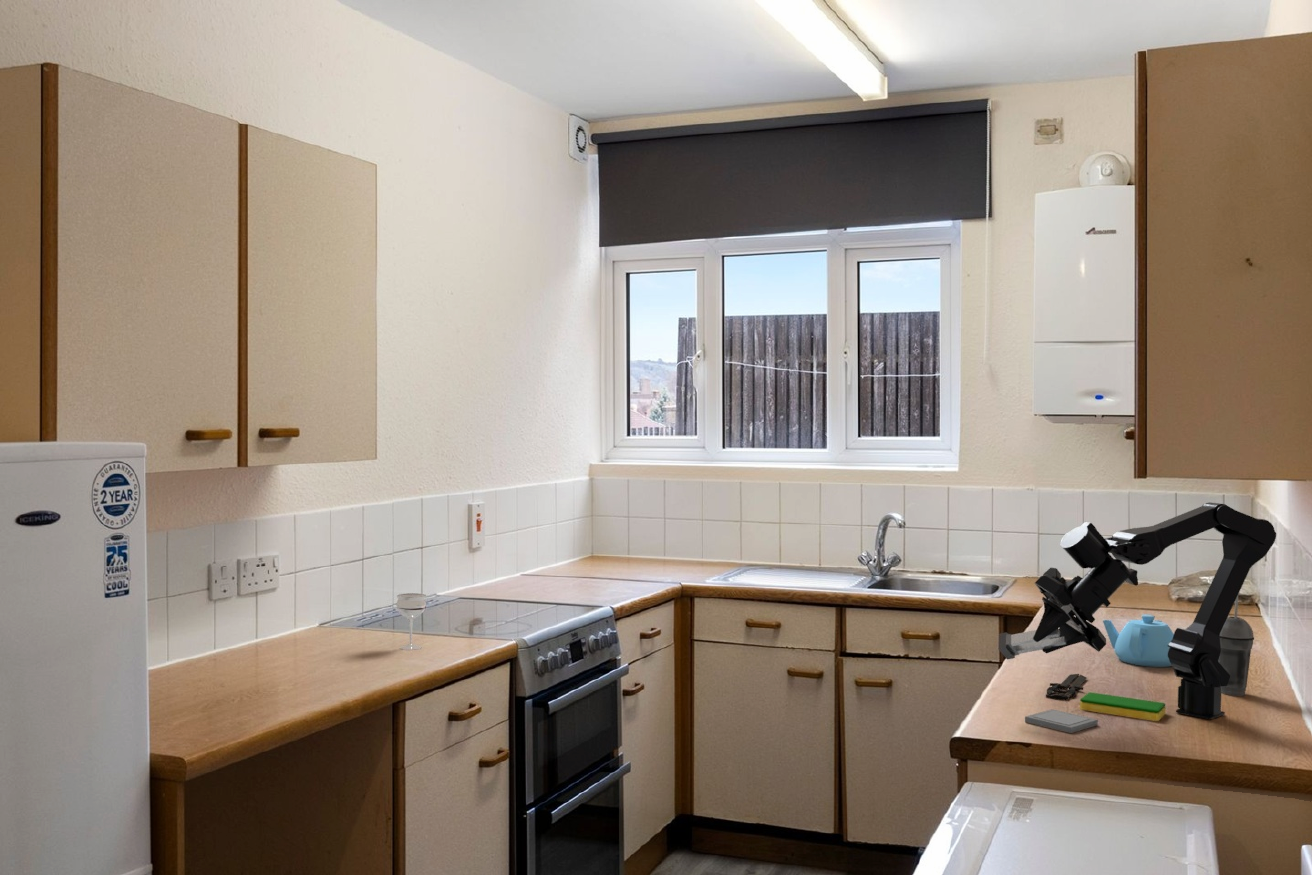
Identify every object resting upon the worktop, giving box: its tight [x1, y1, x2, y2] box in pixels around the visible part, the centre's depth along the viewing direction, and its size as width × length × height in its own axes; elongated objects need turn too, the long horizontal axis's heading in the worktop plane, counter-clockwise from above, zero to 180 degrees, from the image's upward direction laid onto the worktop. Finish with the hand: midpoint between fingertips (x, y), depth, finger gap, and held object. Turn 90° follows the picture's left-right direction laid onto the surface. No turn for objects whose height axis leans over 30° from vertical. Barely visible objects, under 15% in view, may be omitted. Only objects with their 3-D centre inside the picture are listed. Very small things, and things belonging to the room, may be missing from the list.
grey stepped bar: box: [998, 628, 1066, 660], centre depth 209 cm, size 4×4×12 cm
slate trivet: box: [1024, 708, 1099, 734], centre depth 204 cm, size 9×9×1 cm
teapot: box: [1102, 614, 1174, 668], centre depth 260 cm, size 15×15×11 cm
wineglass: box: [395, 592, 427, 651], centre depth 260 cm, size 7×7×12 cm
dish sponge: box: [1079, 692, 1166, 722], centre depth 214 cm, size 7×14×2 cm, turn 56°
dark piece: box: [1045, 673, 1088, 701], centre depth 233 cm, size 25×6×1 cm, turn 144°
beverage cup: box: [1218, 595, 1255, 697], centre depth 230 cm, size 7×7×20 cm
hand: (1039, 646), depth 207 cm, fingers closed on grey stepped bar, 3 cm apart
